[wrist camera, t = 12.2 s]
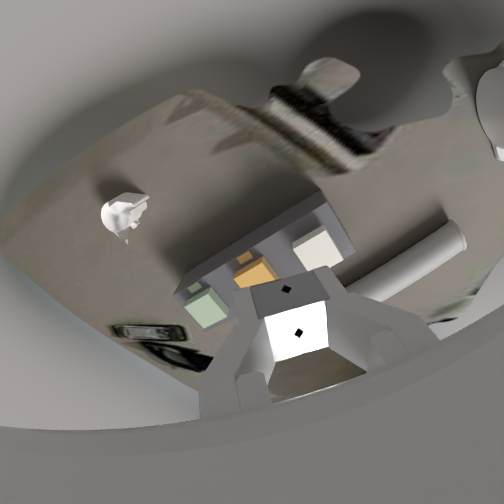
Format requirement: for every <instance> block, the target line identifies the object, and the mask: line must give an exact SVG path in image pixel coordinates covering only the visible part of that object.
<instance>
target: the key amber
mask: <svg viewBox="0 0 504 504" xmlns="http://www.w3.org/2000/svg"><path fill="white" fill-rule="evenodd" d="M277 279H280V278H279V277H278V275H277V274H276V273H275V271H274V270H273V268H272V267H271V266H270V264H269V263H268V262H267V260H266V259H265V258H264V256H262V257H260V258H259V259H257V260H255V261H254V262H252V263H250V264H248V265H247V266H245V267H243V268H242V269H240V270H238V271H236V273H235V276H234V280H235V281H236V283H237V284H238V285H239V286H240V288H244V287H249V286H252V285H257V284H261V283H265V282H269V281H273V280H277ZM249 288H250V287H249Z"/></svg>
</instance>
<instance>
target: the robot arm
mask: <svg viewBox="0 0 504 504" xmlns="http://www.w3.org/2000/svg"><path fill="white" fill-rule="evenodd" d="M476 105H477V111H478V116H479V119H480V122H481V125H482V127H483V129H484V131H485V133H486V135H487V136H488V138H489V139H490V141H491V143H492V146H493V150H494V154H495V156H496V158H497V160H499V161H504V60H503V61H502V62H501V63H500V64H499V66H498V67H496V68H493V69H490V70H488V71H487V72H485V73H484V74H483V75H482V77H481V79H480V81H479V83H478V87H477V93H476ZM249 287H250V288H249ZM249 287H244V288H240V289H236V290H233V296H234V301H235V306H236V311H237V316H238V321H239V325H235V326H234V327H233V329H232V331H231V332H230V334H229V335H228V337H227V338H226V340H225V342H224V343H223V345H222V346H221V348H220V349H219V351H218V353H217V354H216V356H215V357H214V359H213V360H212V362H211V363H210V365H209V367H208V368H207V370H206V371H205V373H204V374H203V376H202V377H201V379H200V381H199V382H198V393H199V408H200V409H199V410H200V419H199V420H192V421H186V422H179V423H172V424H164V425H156V426H146V427H136V428H124V429H107V430H41V429H25V428H14V427H4V426H0V504H504V305H502V306H500V307H499V308H497V309H496V310H494V311H493V312H491V313H489V314H487V315H486V316H484V317H482V318H481V319H479V320H477V321H476V322H474V323H472V324H470V325H469V326H467V327H465V328H463V329H462V330H460V331H458V332H456V333H454V334H452V335H450V336H449V337H446V338H444V339H442V340H439V339H438V338H437V337H436V335H435V334H434V333H433V332H432V330H431V329H430V328H429V327H428V326H427V324H426V323H425V322H424V321H423V320H422V319H421V317H420V316H419V315H416V314H413V313H410V312H407V311H404V310H402V309H399V308H396V307H393V306H390V305H387V304H385V303H382V302H379V301H376V300H373V299H370V298H368V297H365V296H362V295H359V294H356V293H354V292H352V293H348V292H347V291H346V290H345V288H344V287H343V286H342V284H341V283H340V281H339V280H338V279H337V277H336V276H335V275H334V273H333V272H332V271H331V269H330V268H329V267H328V266H326V265H325V266H322V267H319V268H316V269H312V270H310V271H307V272H303V273H300V274H297V275H293V276H290V277H286V278H283V279H277V280H273V281H269V282H265V283H261V284H257V285H252V286H249ZM327 346H328V347H329V348H330V349H332V350H333V351H335V352H337V353H338V354H340V355H341V356H343V357H345V358H346V359H348V360H349V361H351V362H353V363H354V364H356V365H357V366H359V367H361V368H362V369H364V370H366V371H367V373H366V374H364V375H361V376H358V377H356V378H353V379H350V380H347V381H345V382H342V383H339V384H336V385H333V386H330V387H327V388H324V389H321V390H318V391H315V392H312V393H308V394H305V395H302V396H298V397H295V398H292V399H288V400H284V401H281V402H277V403H273V404H272V400H271V397H270V393H269V390H268V387H267V384H268V382H269V379H270V376H271V374H272V371H273V368H274V365H275V362H277V361H280V360H283V359H286V358H290V357H293V356H296V355H299V354H302V353H306V352H310V351H313V350H317V349H320V348H324V347H327Z"/></svg>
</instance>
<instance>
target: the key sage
mask: <svg viewBox="0 0 504 504" xmlns="http://www.w3.org/2000/svg"><path fill="white" fill-rule="evenodd" d="M185 309H186V310H187V311H188V312H189V313H190V314H191V315H192V316H193V317H194V319H195V320H196V321H197V322H198V323H199V324H200V325H201V326H202V327H203V328H206V327H208V326H210V325H212V324H214V323H216V322H218V321H220V320H222V319H224V318H226V317H227V316H228V313H229V307H228V306H227V305H226V304H225V303H224V302H223V300H222V299H221V298H220V297H219V296H218V294H217V293H216V292H215V291H214V290H213V288H212V287H209V288H207V289H205V290H204V291H202V292H200V293H199V294H197V295H195V296H193V297H192V298H190V299H188V301H187V303H186V305H185Z"/></svg>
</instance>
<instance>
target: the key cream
mask: <svg viewBox="0 0 504 504" xmlns="http://www.w3.org/2000/svg"><path fill="white" fill-rule="evenodd" d="M293 250H294V252H295V253H296V255H297V256H298V258H299V259H300V261H301V262H302V264H303V265H304V267H305V268H306V270H307V271H310V270H312V269H316V268H319V267H322V266H325V265H326V266H328V267H329V268H330V267H332V266H334V265H335V264H337V263H339V262H341V261H342V260H343V257H342V254H341V252H340V251H339V249H338V247H337V245H336V244H335V242H334V241H333V239H332V237H331V236H330V234H329V232H328V231H327V229H326V227H325V226H324V225H322V226H320V227H318V228H317V229H315V230H313V231H312V232H310V233H308V234H307V235H305V236H303V237H301V238H300V239H298V240H296V241H295V242H293Z"/></svg>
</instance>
